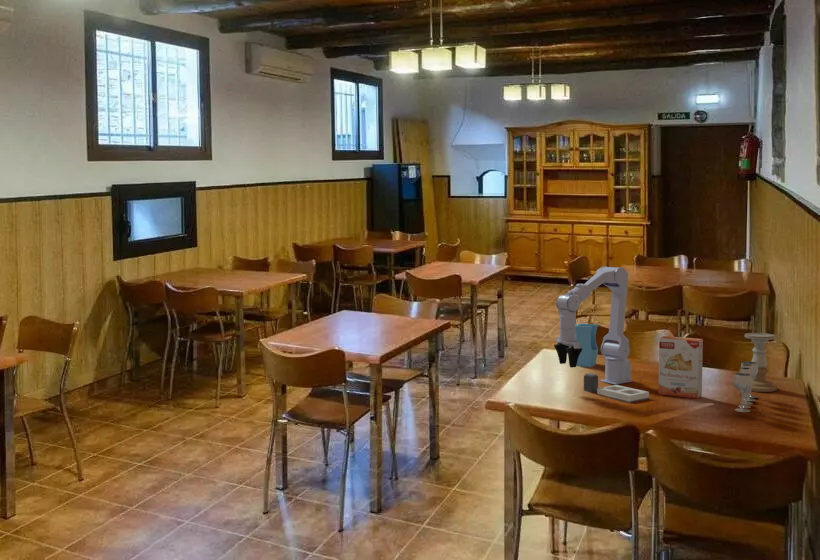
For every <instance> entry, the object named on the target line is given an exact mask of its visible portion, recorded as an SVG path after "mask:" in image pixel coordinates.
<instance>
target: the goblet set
mask: <svg viewBox="0 0 820 560" xmlns="http://www.w3.org/2000/svg"><path fill="white" fill-rule="evenodd" d="M740 365H741V366H740V368H739V372H736V373H735V374H734V376H733V380H732V382H733V385H734V387H735V388H736V389H737V390H738V391H739V393H740V395H741V401H740V402H739V403H740V404H739V405H738V407H739V408H735V409H734V411H736V412H740V413H750V412H751V410H750V408H751V406H750V405H753V402H755V401H756V399H755V398H758V396H757V395H755V394H752V391H751V386H752V381H753V379H754V378H755V377H756V375H757V373H758V364H757V363H756V362H751V361H746V360H745V361H742V362H741V364H740ZM749 388H750V391H749Z"/></svg>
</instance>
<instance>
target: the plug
mask: <svg viewBox="0 0 820 560" xmlns="http://www.w3.org/2000/svg"><path fill="white" fill-rule="evenodd" d="M597 388H599V375H598V374H597V373H593V372H590V373H589V372H588V373H585V374H584V375H583V391H585V392H587V393H590V394H592V393H593V394H594V393H595V392H596V393H597Z"/></svg>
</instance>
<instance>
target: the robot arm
mask: <svg viewBox="0 0 820 560" xmlns="http://www.w3.org/2000/svg"><path fill="white" fill-rule="evenodd" d="M628 282H629V272H628V271H627V270H626V269H625V268H624V267H622V266H619V267H617V266H616V267H614V266H613V267H612V266H605V265H603V266H601V267H599V268H598V269H597V270H596V273H595V274H594V275H593V276H592V277H590V278H589V279H588V280H587V281H586V282H585V283H576V285H575V286H574V288H572V289H571V290H569V291H567V293H566V294H561V295H559V296H558V297H557V299H556V302H555V306H556V308H557V311H558V315H559V336H558V337H556V338H555V341H556V342H555V343H556V344H553V347H554V349H555V351H556V354H557V357H558V361H559V364H561V365H562V364H563V365H564V364H567V360H568V365H569V367H570V368H571V369H573V368H577V361H578V357H579V355H580V353H581V351H582V348H580V343H579V342H577V340H576V325H577V322H576V321H577V317H576V316H577V314H576V313H577V311H578V309H580V308H579V307H580V305H581V303H583V302H584V301H585V300H586V299H588V298H590V296H591V292H592V291H594V290H595V289H596V288H598V287H599V286H601V285H604V286H606V287H607V288H608V289H609V290H610V291H611V303H610V304H611V305H610V315H609V316H610V317H609V323H608V324H609V325H608V326H609V327H608V333H607V334H605V335H604V336H603V338H602V343H601V345H600V353H601V355H602V356H603V359H605V365H604V367H605V368H604V369H605V371H604V373H605V375H604V376H605V377H604V379H600V382H603V383H607V384H611V385H622V384H626V383H632V382H633V380H632V378H631V377H632V366H631V361H630V360H629V359H628V357H629V355H630V353H631V348H630V339H629V338H628V337H627V336H626V335H625V334H624V333H625V332H624V331H625V330H624V329H625V322H626V321H625V320H626V309H627V308H626V307H627V297H628ZM567 358H568V359H567Z"/></svg>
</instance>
